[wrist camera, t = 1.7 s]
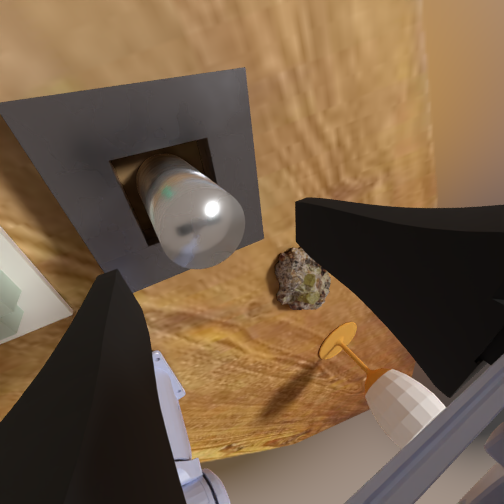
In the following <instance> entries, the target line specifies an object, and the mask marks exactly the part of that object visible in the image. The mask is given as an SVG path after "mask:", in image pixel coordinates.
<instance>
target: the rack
mask: <svg viewBox="0 0 504 504" xmlns="http://www.w3.org/2000/svg"><path fill="white" fill-rule="evenodd" d="M71 315H73V309H72V308H71V307H70V306H69V305H68V304H67V303H66V301H65V300H64V299H63V298H62V297H61V296H60V294H59V293H58V292H57V291H56V290H55V289H54V287H53V286H52V285H51V284H50V283H49V282H48V281H47V279H46V278H45V277H44V276H43V275H42V274H41V272H40V271H39V270H38V269H37V268H36V267H35V266H34V264H33V263H32V262H31V261H30V260H29V259H28V257H27V256H26V255H25V254H24V253H23V252H22V251H21V249H20V248H19V247H18V246H17V245H16V244H15V242H14V241H13V240H12V239H11V238H10V237H9V236H8V234H7V233H6V232H5V231H4V230H3V229H2V227H1V226H0V344H2V343H5V342H7V341H10V340H12V339H15V338H17V337H20V336H22V335H24V334H27V333H29V332H32V331H34V330H37V329H39V328H41V327H44V326H46V325H49V324H51V323H54V322H56V321H59V320H61V319H63V318H66V317H68V316H71Z"/></svg>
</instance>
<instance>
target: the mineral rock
mask: <svg viewBox="0 0 504 504" xmlns="http://www.w3.org/2000/svg"><path fill="white" fill-rule="evenodd" d="M275 274H276V276H277V280H278V281H279V284H280V289H279V292H278V293H277V298H278V299H277V300H278V301H279V302H281V305H283V304H290V308H291V309H293V310H296V309H297V310H302V309H317V308H318V307H320V306H322V304H323V303H324V302H325V297H326V296H327V294H328V293H329V292H330V291H329V287H330V277H329V275H328V271H326V270H325V269H324V268H323V267H321V266H320V265H319V264H318V263H316V262H315V261H314V260H313V259H312V258H311V257H309V256H308V254H307V253H306V252H305V251H304V250H303V249H302V248H300V249H297V248H291V249H290V251H289V252H288V253H281V254H280V257H279V262H278V264H276V267H275Z"/></svg>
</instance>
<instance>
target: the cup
mask: <svg viewBox="0 0 504 504" xmlns="http://www.w3.org/2000/svg"><path fill="white" fill-rule="evenodd" d="M356 330H357V328H356V324H355V323H353V322H348V323H345V324H343V325H341V326H339V327H338V328H336V329H335V330H334V331H333V332H331V333H330V335H329V336H328V337H327V338H326V339H325V340H324V342H323V344H322V345H321V347H320V350H319V356H320V358H321V359H328V358H332V357H333V356H335V355H337V354H338V353H339V352H341V351H342V350H344V351H345V352H346V353H347V354H348V355H349V356H350V357H351V358H352V359H353V360H354V361H355V362H356V363H357V364H358V365H359V366H360V367H361V368H362V369H363V370H364V371H365V372H366V374H367V379H366V382H365V397H366V400H367V402H368V405H369V408H370V410H371V412H372V414H373V415H374V417H375V419H376V421H377V422H378V424H379V425H380V427H382V429H383V431H384V432H385V433H386V434H387V436H388V437H389V438H390V439H391V440H392V441H393V442H394V443H395V444H396V445H397V446H398V447H399V448H400V449H401V450H402V449H403V448H404V447H405V446H406V445H407V444H408V443H409V442H410V441H411V440H412V439H413V438H414V437H416V436H417V435H418V434H419V433H420V432H421V431H422V430H423V429H424V428H425V427H426V426H427V425H428V424H429V423H430V422H432V421H433V420H434V419H435V418H436V417H437V416H438V415H439V414H440V413H441V412H442V411H443V410H444V409H445V408H446V407H445V406H444V405H443V403H442V402H441V401H440V400H439V399H438V398H437V397H436V396H435V395H434V394H433V393H432V392H431V391H430V390H428V389H427V388H426V387H424V386H423V385H422V384H421V383H419V382H418V381H416V380H414V379H413V378H411V377H409V376H408V375H406V374H403V373H401V372H399V371H396V370H394V369H384V368H381V369H377V370H370V369H369V368H368V367H367V366H366V365H365V364H364V363H363V362H362V361H361V360H360V359H359V358H358V357H357V356H356V355H355V354H354V353H353V352H352V351H351V350H350V349H349V348H348V347H347V345H348V344H349V343H350V341H351V340H352V338H353V337H354V335H355V333H356Z"/></svg>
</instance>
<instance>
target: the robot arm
mask: <svg viewBox="0 0 504 504" xmlns="http://www.w3.org/2000/svg"><path fill="white" fill-rule="evenodd" d="M295 215H296V242H297V243H298V245H299V246H300V247H301V248H302V249H303V250H304V251H305V252H306V253H307V254H308V256H309V257H311V258H312V259H313V260H314V261H315V262H316V263H318V264H319V265H320V266H321V267H323V268H324V269H325V270H326V271H328V272H329V273H330V274H331V275H333V276H334V277H335V278H336V279H338V280H339V281H340V282H341V283H343V284H344V285H345V286H346V287H347V288H349V289H350V290H351V291H352V292H353V293H354V294H355V295H357V296H358V297H359V298H360V299H361V300H362V301H363V302H364V303H365V304H366V305H367V306H368V307H369V308H370V309H371V310H372V311H373V312H374V314H375V315H376V316H377V317H378V318H379V319H380V320H381V321H382V322H383V323H384V324H385V325H386V326H387V327H388V329H389V330H390V331H391V332H392V333H393V334H394V335H395V337H396V338H397V339H398V340H399V341H400V342H401V344H402V345H403V346H404V347H405V348H406V349H407V350H408V352H409V353H410V354H411V356H412V357H413V358H414V359H415V361H416V362H417V363H418V364H419V366H420V367H421V368H422V369H423V371H424V372H425V373H426V374H427V376H428V377H429V378H430V380H431V381H432V383H433V384H434V385H435V386H436V387H437V388H438V389H439V390H440V391H441V392H442V393H444V394H445V395H446V396H447V397H449V398H450V397H452V396H453V395H454V394H455V393H456V392H457V391H458V390H459V389H460V388H461V387H462V386H463V385H464V384H466V382H468V381H469V380H470V379H471V378H472V377H473V376H474V375H475V374H476V373H478V372H479V371H480V370H481V369H482V368H483V367H484V366H485V365H486V364H487V363H489V364H490V365H491V366H490V367H489V368H488V369H487V370H486V371H485V372H484V373H483V374H482V375H481V376H480V377H478V378H477V379H476V380H475V381H474V382H473V383H472V384H471V385H470V386H469V387H468V388H467V389H466V390H465V391H464V392H463V393H461V394H460V395H459V396H458V397H457V398H456V399H455V400H454V401H453V402H452V403H451V404H450V405H449V406H448V407H446V408H445V409H444V410H443V411H442V412H441V413H440V414H439V415H438V416H437V417H436V418H435V419H434V420H433V421H432V422H430V423H429V424H428V425H427V426H426V427H425V428H424V429H423V430H422V431H421V432H420V433H419V434H418V435H417V436H416V437H414V438H413V439H412V440H411V441H410V442H409V443H408V444H407V445H406V446H405V447H404V448H403V449H402V450H401V451H400V452H398V454H396V455H395V456H394V457H393V458H392V459H391V460H390V461H389V462H388V463H387V464H386V465H385V466H384V467H383V468H381V470H379V471H378V472H377V473H376V474H375V475H374V476H373V477H372V478H371V479H370V480H369V481H368V482H367V483H366V484H364V485H363V486H362V487H361V488H360V489H359V490H358V491H357V492H356V493H355V494H354V495H353V496H352V497H350V498H349V499H348V500H347V501H346V502H345V503H344V504H414V503H415V502H416V501H417V500H418V499H419V498H420V497H421V496H422V495H423V494H424V493H425V492H426V490H427V489H428V488H429V487H430V486H431V485H432V484H433V483H434V482H435V481H436V480H437V479H438V478H439V477H440V475H441V474H442V473H443V472H444V471H445V470H446V469H447V468H448V467H449V466H450V465H451V464H452V463H453V461H454V460H455V459H456V458H457V457H458V456H459V455H460V454H461V453H462V452H463V451H464V450H465V449H466V447H468V445H469V444H470V443H471V442H472V441H473V440H474V439H475V438H476V437H477V436H478V435H479V434H480V433H481V432H482V431H483V429H484V428H485V427H486V426H487V425H488V424H489V423H490V422H491V421H492V420H493V419H494V418H495V417H496V416H497V414H498V413H499V412H500V411H501V410H502V409H503V408H504V205H495V206H482V207H467V208H466V207H465V208H405V207H390V206H379V205H370V204H362V203H354V202H347V201H339V200H332V199H323V198H304V199H302V200H299V201H296V202H295ZM184 395H185V390H184V388H183V387H182V385H181V384H180V382H179V381H178V379H177V377H176V376H175V374H174V373H173V371H172V370H171V368H170V366H169V365H168V363H167V362H166V360H165V359H164V357H163V355H162V354H161V352H160V351H158V350H156V351H153V352H152V349H151V343H150V336H149V331H148V328H147V324H146V321H145V317H144V314H143V311H142V308H141V307H140V305H139V303H138V302H137V300H136V298H135V297H134V295H133V293H132V292H131V290H130V288H129V287H128V285H127V283H126V282H125V280H124V278H123V277H122V275H121V273H120V272H119V270H118V268H117V269H115V270H112V271H109V272H107V273H104V274H101V275H99V276H97V278H96V280H95V281H94V283H93V285H92V287H91V289H90V291H89V293H88V294H87V296H86V298H85V300H84V302H83V304H82V305H81V307H80V309H79V311H78V312H77V314H76V316H75V318H74V320H73V321H72V323H71V325H70V326H69V328H68V330H67V331H66V333H65V334H64V336H63V337H62V339H61V341H60V342H59V344H58V345H57V347H56V348H55V350H54V352H53V353H52V355H51V356H50V358H49V359H48V361H47V362H46V364H45V365H44V366H43V368H42V369H41V371H40V372H39V373H38V375H37V376H36V378H35V379H34V380H33V382H32V383H31V384H30V386H29V387H28V388H27V389H26V391H25V392H24V393H23V395H22V396H21V397H20V399H19V400H18V401H17V403H16V404H15V405H14V406H13V408H12V409H11V410H10V411H9V413H8V414H7V415H6V416H5V417H4V418H3V420H2V421H1V422H0V504H231V503H230V500H229V497H228V494H227V492H226V489H225V487H224V485H223V483H222V482H221V480H220V479H219V477H218V476H217V475H215V474H214V473H213V472H212V471H211V470H210V469H207V468H205V469H203V470H201V466H200V462H199V459H198V458H195V459H192V460H191V457H192V455H191V447H190V443H189V439H188V435H187V432H186V428H185V424H184V420H183V417H182V413H181V409H180V405H179V402H178V399H180V398H182V397H183V396H184ZM484 449H485V451H486V452H487V453H488V454H489V455H490V456H491V457H493V458H494V459H495V460H496V461H497V463H496V464H495V465H494V466H493V467H492V468H491V469H490V470H489V471H488V472H487V473H486V474H485V475H484V476H483V477H482V478H481V479H480V480H479V481H478V482H477V483H476V484H475V485H474V487H472V489H471V490H470V491H469V492H468V493H467V494H466V495H465V496H464V497H463V498H462V499H461V500H460V501H459V502H458V503H457V504H504V422H503V423H501V424H500V425H499V426H498V427H497V428H496V429H495V430H494V431H493V432H492V434H491V435H490V437H489V438H488V440H487V442H486V443H485V445H484Z"/></svg>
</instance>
